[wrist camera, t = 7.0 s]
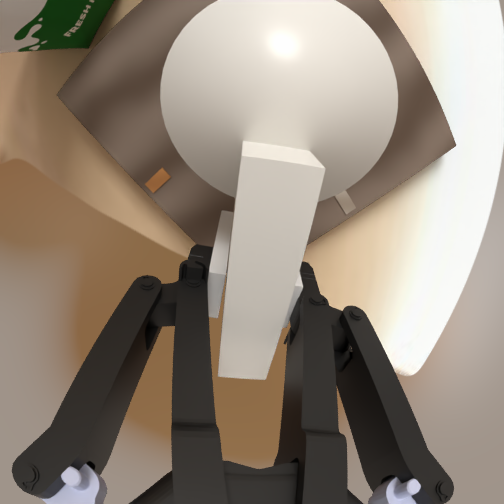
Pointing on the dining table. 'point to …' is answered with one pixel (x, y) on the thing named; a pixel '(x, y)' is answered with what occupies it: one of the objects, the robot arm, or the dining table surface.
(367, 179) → the base plate
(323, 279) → the dining table surface
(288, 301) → the spoon
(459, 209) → the dining table surface
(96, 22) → the milk carton
